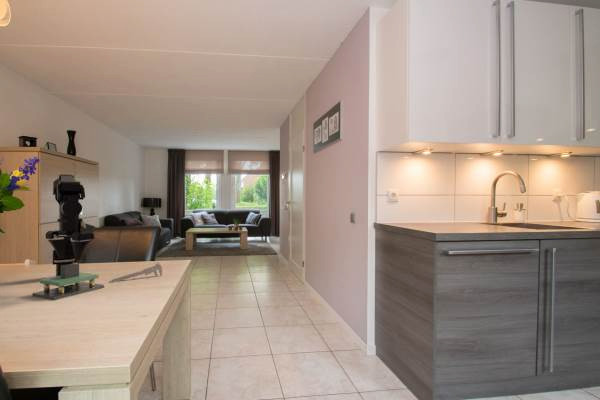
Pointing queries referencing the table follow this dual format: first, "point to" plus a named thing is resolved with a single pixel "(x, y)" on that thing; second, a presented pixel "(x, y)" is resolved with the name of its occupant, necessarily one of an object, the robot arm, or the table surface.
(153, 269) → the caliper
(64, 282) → the board
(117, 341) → the table surface
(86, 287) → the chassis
